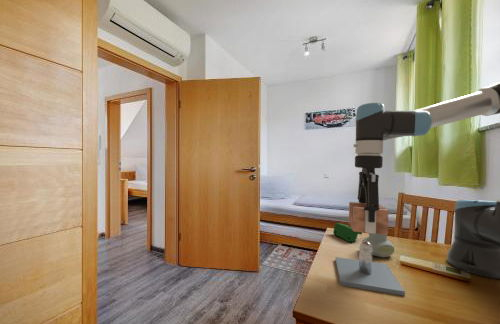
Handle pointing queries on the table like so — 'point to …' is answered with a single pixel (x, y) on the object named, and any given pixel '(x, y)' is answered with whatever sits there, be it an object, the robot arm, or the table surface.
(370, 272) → the steel post
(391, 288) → the post board
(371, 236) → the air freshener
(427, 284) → the table surface
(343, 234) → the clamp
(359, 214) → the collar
